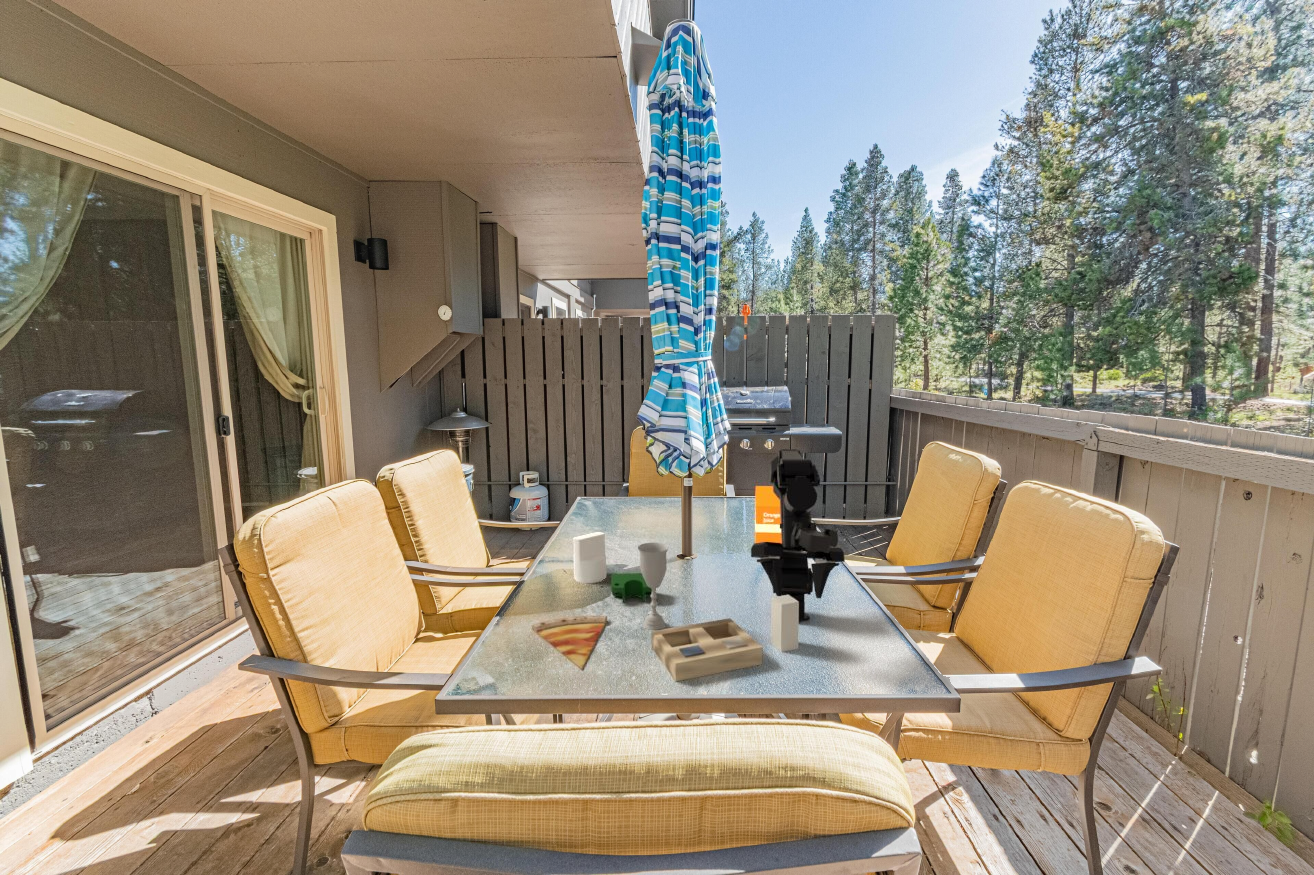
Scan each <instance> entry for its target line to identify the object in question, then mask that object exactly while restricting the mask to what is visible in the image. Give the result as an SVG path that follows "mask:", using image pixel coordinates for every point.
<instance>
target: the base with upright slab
mask: <svg viewBox="0 0 1314 875" xmlns="http://www.w3.org/2000/svg"><path fill="white" fill-rule="evenodd" d="M605 536H606V534H605V532H602V531H595V532H591V533H586V534H583V535H578V536H575V537H573V540H572V543H573V544H572V545H573V558H572V559H573V578H574V579H575V580H576V581H575V580H574V579H573V580H574V581H575V582H576V583H577V582H578V583H581V584H596V582H597V583H600V582H603V581H604V580H603V579H605V578H607V556H606V555H607V554H606V542H605V541H606V538H605ZM602 580H603V581H602ZM605 580H606V579H605ZM599 581H600V582H599Z"/></svg>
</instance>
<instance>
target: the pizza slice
mask: <svg viewBox="0 0 1314 875" xmlns="http://www.w3.org/2000/svg"><path fill="white" fill-rule="evenodd" d="M607 622H608V616H607V615H578V616H569V617H561V618H555V619H554V618H553V619H549V620H545V621H542V622H537V623H533V624H532V626H531V631H532V630H533V631H534V633H535V634H536V635H537V636H538V635H539V636H538V637H540V638H541V639H542V640H544V642H546V643H547V644H548V645H550V646H551V647H552V648H554V650H556V651H557V652H558V653H559V654H561V656H563V657H565V658H566V660H568V661H569V662H571V663H572V664H573V665H574V666H576V668H578V669H579V670H581V671H583V669H584V667H585V665H586V663H587V661H588V659H589V657H590V655H591V653H592V651H593V650H594V647H595V645H596V643H597V642H598V639H599V637H600V636H601V633H602V632H603V630H604V628H605V626H606V624H607ZM533 631H532V632H533Z"/></svg>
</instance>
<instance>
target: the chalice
mask: <svg viewBox="0 0 1314 875" xmlns="http://www.w3.org/2000/svg"><path fill="white" fill-rule="evenodd" d="M637 550H638V551H639V559H640V560H639V561H640V564H639V566H640V567H639V568H640V569H639V570H640V571H641V572H640V573H642V575H643V578H644V580H645V582H646V584H647V586H648V587H649V588H651V589H652V594H651V596H650V598H651V602H650V607H651V611H650V612H649V613H648V614H647V615H646V617H645V619H644V622H643V624H642V626H643V628H645V629H647V630H651V631H657V630H663V629H665V627H666V623H665V620H664V619H663V616H662V614H661V613H660V612H658V611H657V606H658V605H659V603H658V602H657V599H658V594H657V589H658V588H660V587H661V585H662V583H663V580H664V578H665V575H666V573H667V568H668V566H667V552H668V550H669V546H668V545H667V544H665V543H662V542H645V543H640V544H639V545H638V546H637Z"/></svg>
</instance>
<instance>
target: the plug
mask: <svg viewBox="0 0 1314 875" xmlns="http://www.w3.org/2000/svg"><path fill="white" fill-rule="evenodd" d="M770 599H771V600H770V602H771V604H770V605H771V606H770V611H771V612H770V644H771V645H772V646H773V647H775V649H777V650H778V651H779V652H781V653H783V652H787V651H793V650H798V649H799V622H800V621H799V602H798V601H797V600H795V599H794V598H792V597H791V596H789V595H783V596H777V595H776V596H771V597H770Z"/></svg>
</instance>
